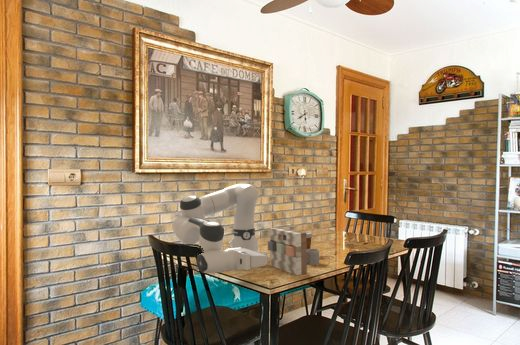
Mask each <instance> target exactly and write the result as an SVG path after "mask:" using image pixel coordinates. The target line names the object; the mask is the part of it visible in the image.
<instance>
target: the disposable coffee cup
mask: <svg viewBox="0 0 520 345" xmlns="http://www.w3.org/2000/svg"><path fill="white" fill-rule="evenodd" d="M304 232H305V233H306V241H307V249H311V244H312V237H313V234H312V232H310V231H304Z"/></svg>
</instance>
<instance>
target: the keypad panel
mask: <svg viewBox="0 0 520 345" xmlns="http://www.w3.org/2000/svg"><path fill="white" fill-rule="evenodd" d="M305 232H306V231H300V230H295V229H289V228H283V227H269V241H276V244H278V243H283V244H285V252H286V246H295V256H293V257H290V256H287V255H286V253H284V254H280V253H277V251H270V250H269V264H270V265H269V266H271V267H274V268H277V269H279V270H282V271H285V272H288V273H289V274H292V275H295V276H299V275H306V274H308V272H307V271H308V267H307V266H308V264H307V241H306V233H305Z"/></svg>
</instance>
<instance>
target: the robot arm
mask: <svg viewBox="0 0 520 345" xmlns="http://www.w3.org/2000/svg"><path fill="white" fill-rule="evenodd" d="M259 195H260V193H259V190H258V188H257V187H255V186H254V185H253V184H250V183H235V184H234V185H230V186H227V187H225V188H224V189H221V190H217V191H214V192H211V193H209V194H205V195H202V196H200V197H198V196H197V195H187V196H183V198H182V199H181V200H180V201H179V208H180V212H181V214H180V215H181V216H177V217H176V218H175V219H174V220H173V221H172V223H171V224H172V225H171V227H172V231H173V233H174V235H175V237H176V238H177V239H178V240H179V241H180V242H181V243H182V244H184V245H186V244H193V245H196V244H197V243H198V247H199V246H201V248H203V250H204V251H203V252H204V253H201V254H199V255H198V254H197V256H196V261H195V262H196V266H197V269H198V270H199V271H200V272H201V273H203V274H204V273H205V274H216V273H222V272H224V271H235V270H236V271H238V270H243V271H249V270H251V269H253V268H259V267H264V266H267V265H268V263H269V262H268V260H269V258H268V253H267V252H264V251H262V250H259V242H258V241H259V240H258V237H256V230H255V229H256V228H255V211H256V210H255V209H256V205H257V200H258V198H259ZM235 206H236V207H235ZM233 207H235V212H234V214H233V230H232V235H233V236H232V238H231V240H230V241H228V246H229V247H228V248H226V249H223V243H224V242H223V241H224V235H225V234H224V233H225V228H224V227H223V225H222V224H220V223H219V222H216V221H210V220H209V219H208V220H207V219H206V217H208V216H212V215H215V214H218V213H221V212H224V211H228V210H229V209H230V208H233Z"/></svg>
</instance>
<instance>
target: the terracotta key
mask: <svg viewBox="0 0 520 345" xmlns="http://www.w3.org/2000/svg"><path fill="white" fill-rule="evenodd" d="M286 255H287V256H290V257H293V256H295V246H286Z"/></svg>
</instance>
